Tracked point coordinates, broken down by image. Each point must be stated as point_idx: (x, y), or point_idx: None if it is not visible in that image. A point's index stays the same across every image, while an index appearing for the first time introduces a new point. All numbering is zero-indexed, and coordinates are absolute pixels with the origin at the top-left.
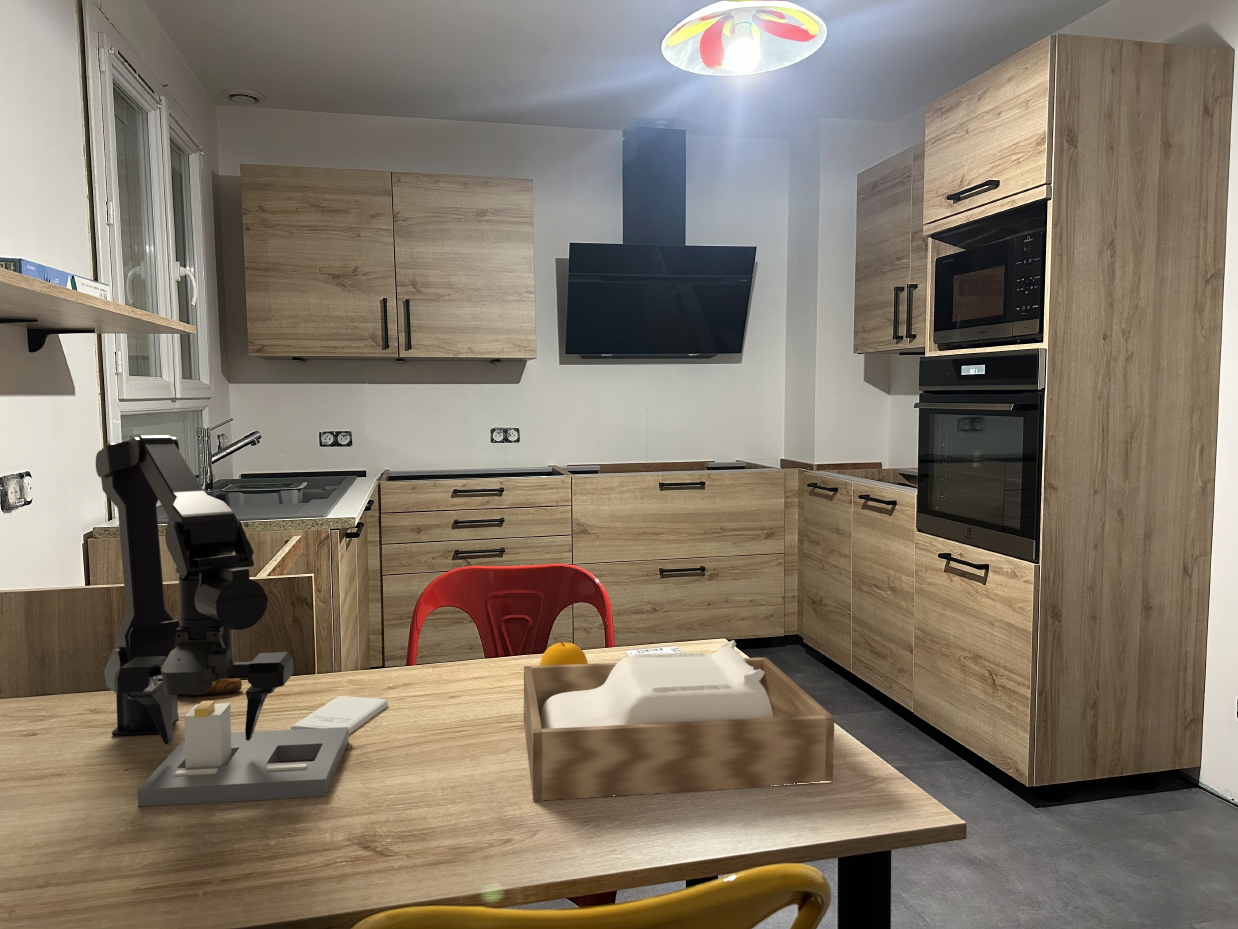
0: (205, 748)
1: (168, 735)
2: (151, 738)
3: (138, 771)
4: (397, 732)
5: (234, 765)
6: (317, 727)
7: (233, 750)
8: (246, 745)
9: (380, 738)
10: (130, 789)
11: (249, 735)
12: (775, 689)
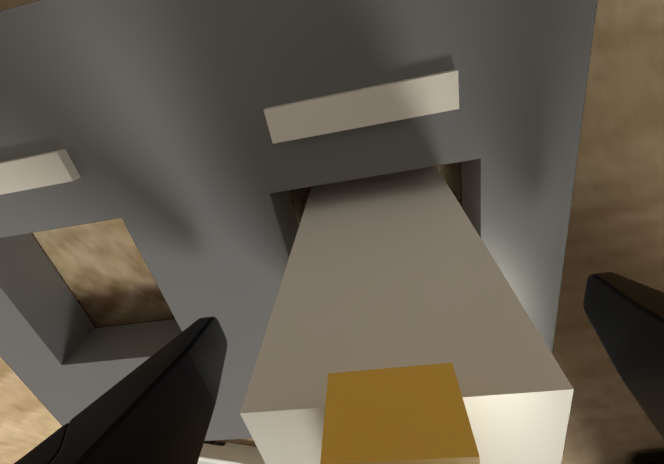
0: (366, 239)
1: (618, 310)
2: (658, 434)
3: (649, 244)
4: (37, 443)
5: (235, 197)
6: (208, 460)
7: None
8: None
9: (49, 421)
10: (645, 91)
11: (183, 331)
12: None
